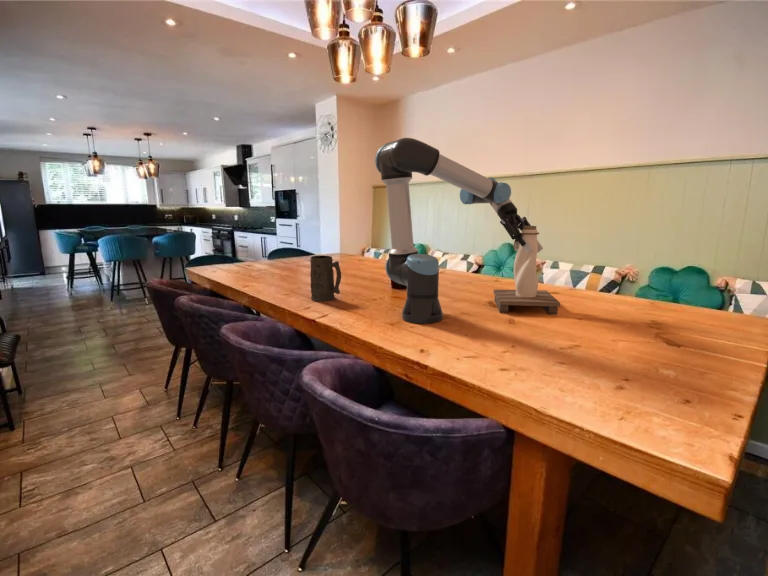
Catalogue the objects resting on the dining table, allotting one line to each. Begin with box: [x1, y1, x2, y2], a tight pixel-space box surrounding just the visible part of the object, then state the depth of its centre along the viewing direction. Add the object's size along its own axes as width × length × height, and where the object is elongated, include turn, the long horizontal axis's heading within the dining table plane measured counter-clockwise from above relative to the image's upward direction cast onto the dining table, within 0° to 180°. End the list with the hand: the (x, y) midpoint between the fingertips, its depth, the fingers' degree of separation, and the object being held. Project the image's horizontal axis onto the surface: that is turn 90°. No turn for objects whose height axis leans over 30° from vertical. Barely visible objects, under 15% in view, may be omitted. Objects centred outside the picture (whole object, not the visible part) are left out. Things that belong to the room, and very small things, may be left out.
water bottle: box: [512, 225, 540, 297], centre depth 155 cm, size 10×9×28 cm
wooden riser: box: [493, 288, 561, 316], centre depth 159 cm, size 22×22×5 cm
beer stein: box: [309, 255, 342, 302], centre depth 175 cm, size 15×11×20 cm
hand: (535, 250), depth 151 cm, fingers open, 5 cm apart
